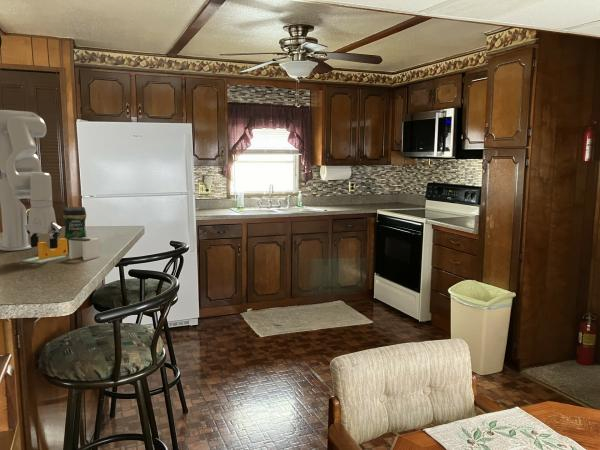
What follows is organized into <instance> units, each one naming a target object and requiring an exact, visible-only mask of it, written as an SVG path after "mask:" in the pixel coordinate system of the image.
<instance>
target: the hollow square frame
mask: <svg viewBox="0 0 600 450" xmlns="http://www.w3.org/2000/svg"><path fill="white" fill-rule="evenodd" d="M69 239H70V240H69V249H68V254H69V255H68V256H69V260H73V259H78V258H81V257H82V260H83V261H88V260H92V259H96V258H100V257H101V246H100V245H101V243H100V238H96V237H94V238H93V237H87V238H76V237H73V238H69Z"/></svg>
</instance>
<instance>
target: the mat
mask: <svg viewBox="0 0 600 450" xmlns="http://www.w3.org/2000/svg"><path fill="white" fill-rule="evenodd" d="M64 258H65V259H66V258H67V255H61V256H56V257H52V258H47V259H39V257H38V256H35V257H31V258H26V259H22V260H21V261H22V262H24V263H32V264H33V263H34V264H44V263H48V262H53V261H57V260H62V259H64Z"/></svg>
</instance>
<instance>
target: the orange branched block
mask: <svg viewBox="0 0 600 450" xmlns="http://www.w3.org/2000/svg"><path fill="white" fill-rule="evenodd" d="M57 245H58V247H57V248H54V249H50V247H49V246H48V242H47V241H38V246H37V255H38V256H37V257H39V259H47V258H52V257H56V256H61V255H62V256H67V255H68V254H69V249H68V246H67V239H65V237H64V238H63V237H62V238H58V240H57Z"/></svg>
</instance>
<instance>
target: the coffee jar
mask: <svg viewBox="0 0 600 450" xmlns="http://www.w3.org/2000/svg"><path fill="white" fill-rule="evenodd" d="M62 214H63V215H62V217H63V219H64V238H65V239H67V246H68V250H69V240H70V239H69V238H73V237H76V238H88V237H87V230H86V229H87V228H86V219H87V212H86V207H84V206H65V207H64V208H63V213H62Z"/></svg>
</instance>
